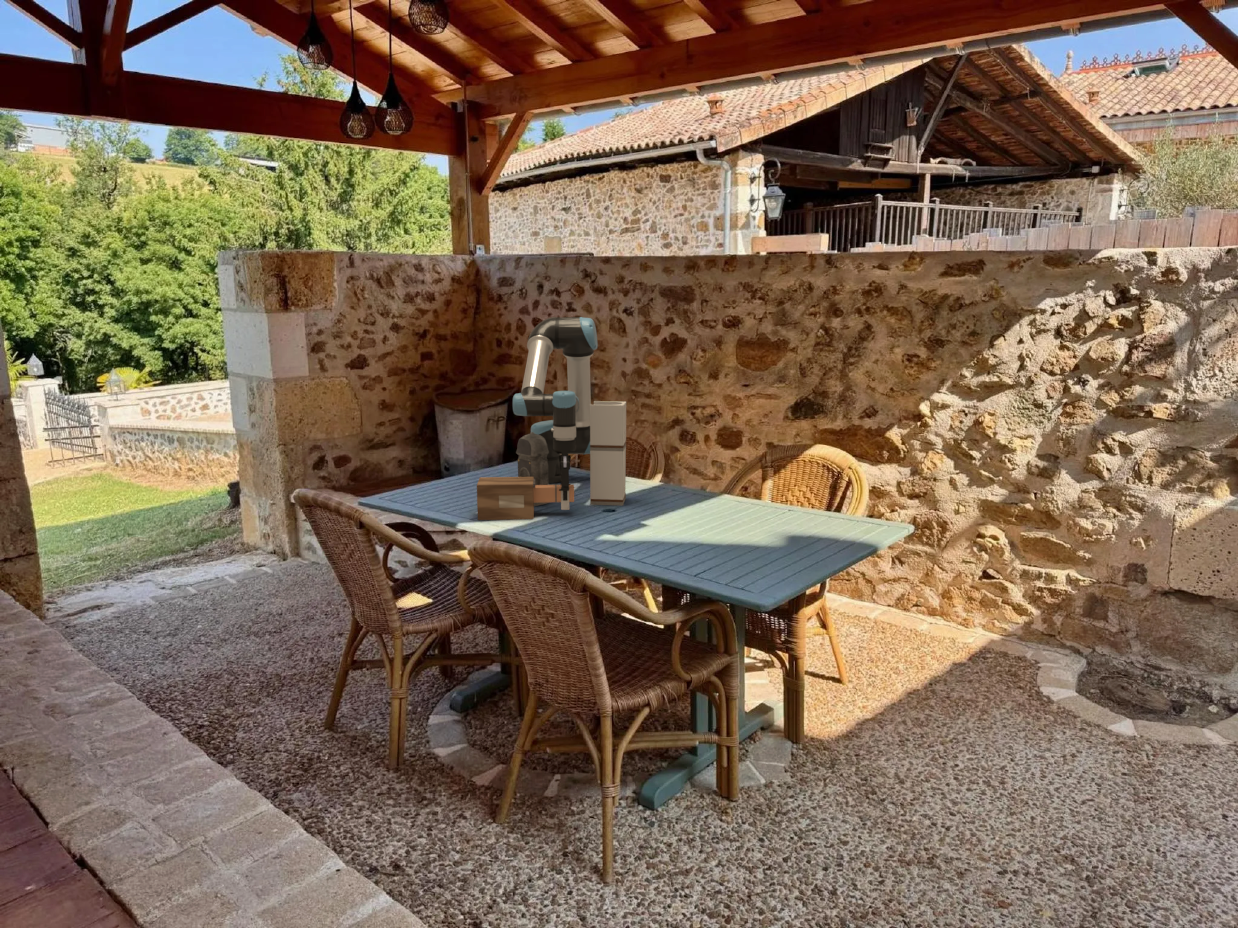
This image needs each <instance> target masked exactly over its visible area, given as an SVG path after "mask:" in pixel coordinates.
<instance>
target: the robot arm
mask: <svg viewBox="0 0 1238 928" xmlns="http://www.w3.org/2000/svg"><path fill="white" fill-rule="evenodd" d="M597 334H598V333H597V328H596V323H595V321H594V320H593V319H592V318H591V317H582V316H578V317H577V316H575V317H574V316H571V317H567V316H566V317H563V316H562V317H556V316H552V317H548V318H546V319H544V320H542V321H540V322H539V323H538V324H537V325H536V326H535V327H534V328H533V329H532V330H531V332H530V334H529V337H528V338H527V343H526V347H527V348H526V349H527V350H528V353H527V359H526V365H525V370H524V375H523V380H522V385H521V386H522V387H521V390H520V391H521V392H519V393H515V394H514V395H513V397H512V412H513V414H514V415H516V416H521V417H552V419H551V420H550V419H549V420H543V421H539V422H535V423H533V424H532V425H531V427H530V433H531V432H534V433H535V434H538V435H540V436H542V437H543V438H545V440H546V443H547V447H548V451H549V453H548V454H547V461H548V484H557V483H560V485H561V489H559V491H561V502H560V509H561V510H562V511H567V510H569V511H570V502H569V485H572V484H571V483H570V470H571V461H572V457H571V456H572V455H590V405H592V403H591V402H592V400H591V399H592V398H591V395H592V394H591V392H592V391H591V361H590V360H591V357H592V356H593V355H594V353H595V350H597V349H598V345H599V344H598V335H597ZM554 350H562V355H563V356H564V357H565V358H566V366H567V367H566V368H567V369H566V370H567V372H566V373H567V390H558V391H554V392H553V393H544V392H545V386H546V385H545V384H546V379H547V372H548V365H549V360H550V359H549V358H550V355H551V354H552V352H553V351H554Z"/></svg>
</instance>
